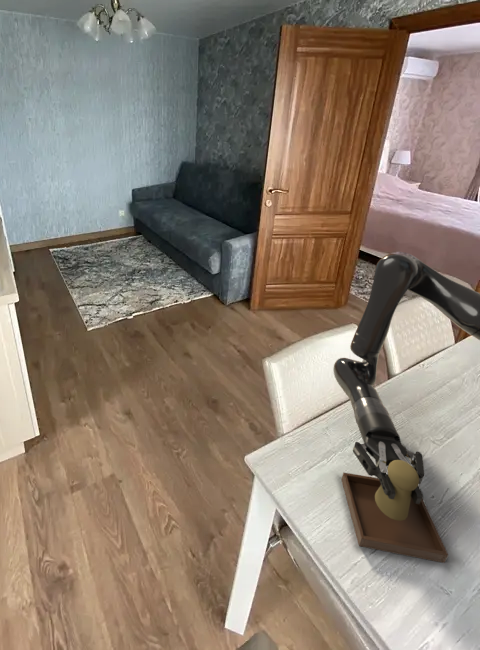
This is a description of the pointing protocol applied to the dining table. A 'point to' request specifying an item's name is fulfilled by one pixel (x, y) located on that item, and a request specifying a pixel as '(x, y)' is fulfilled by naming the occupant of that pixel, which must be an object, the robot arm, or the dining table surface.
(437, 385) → the dining table surface
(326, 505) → the dining table surface
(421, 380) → the dining table surface
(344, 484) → the tray
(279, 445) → the dining table surface
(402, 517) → the cork
